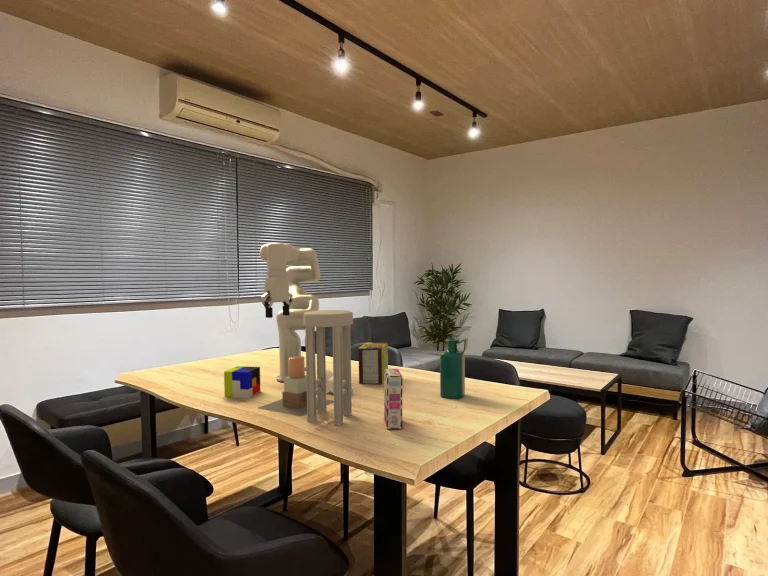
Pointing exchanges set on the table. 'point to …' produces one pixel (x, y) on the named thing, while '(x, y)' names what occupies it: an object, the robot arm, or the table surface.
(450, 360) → the pitcher
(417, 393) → the table surface
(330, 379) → the cream shape with stub
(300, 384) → the tower top
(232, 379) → the puzzle toy
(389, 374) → the candy bar box
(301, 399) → the tower base
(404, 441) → the table surface
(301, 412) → the rubber mat
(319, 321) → the stool
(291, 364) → the peach egg shape
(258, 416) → the table surface
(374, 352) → the protein box
